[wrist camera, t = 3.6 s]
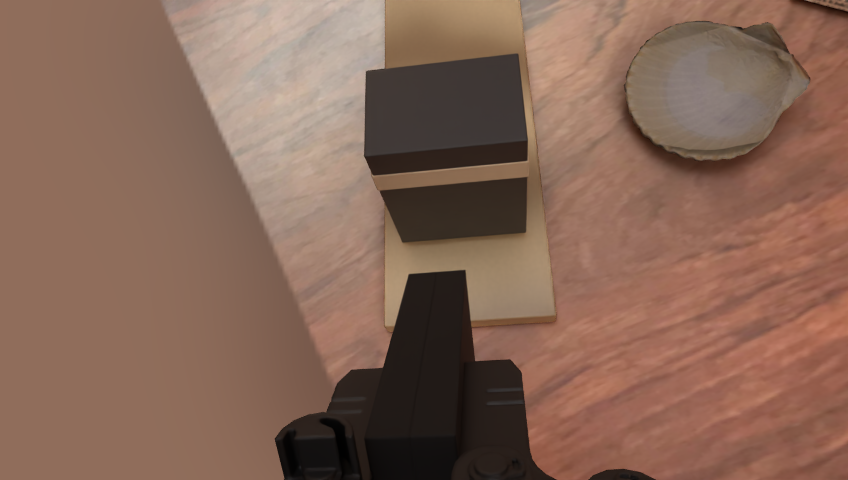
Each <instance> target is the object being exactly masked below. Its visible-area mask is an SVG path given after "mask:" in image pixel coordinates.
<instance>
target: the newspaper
mask: <svg viewBox="0 0 848 480" xmlns="http://www.w3.org/2000/svg"><path fill="white" fill-rule="evenodd" d="M806 1H810V2H813V3H817V4H821V5H825V6H828V7H832V8H836V9H840V10H843V11H847V12H848V0H806Z"/></svg>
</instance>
